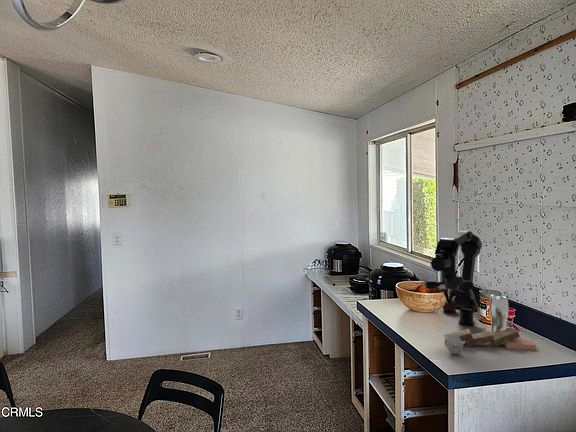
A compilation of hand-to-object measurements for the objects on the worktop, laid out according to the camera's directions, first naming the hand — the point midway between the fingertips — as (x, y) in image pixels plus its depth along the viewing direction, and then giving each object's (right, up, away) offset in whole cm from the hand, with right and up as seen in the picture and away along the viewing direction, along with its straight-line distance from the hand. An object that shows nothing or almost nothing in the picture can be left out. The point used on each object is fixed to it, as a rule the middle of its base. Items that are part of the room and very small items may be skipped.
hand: (448, 304), depth 167 cm
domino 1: (-5, -12, -9) cm, 16 cm away
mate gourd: (+14, -11, +32) cm, 37 cm away
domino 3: (+12, -12, -12) cm, 21 cm away
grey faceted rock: (-6, -14, -19) cm, 25 cm away
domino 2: (+2, -12, -10) cm, 16 cm away
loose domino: (+17, -13, -13) cm, 25 cm away
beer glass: (+22, -13, +2) cm, 26 cm away
